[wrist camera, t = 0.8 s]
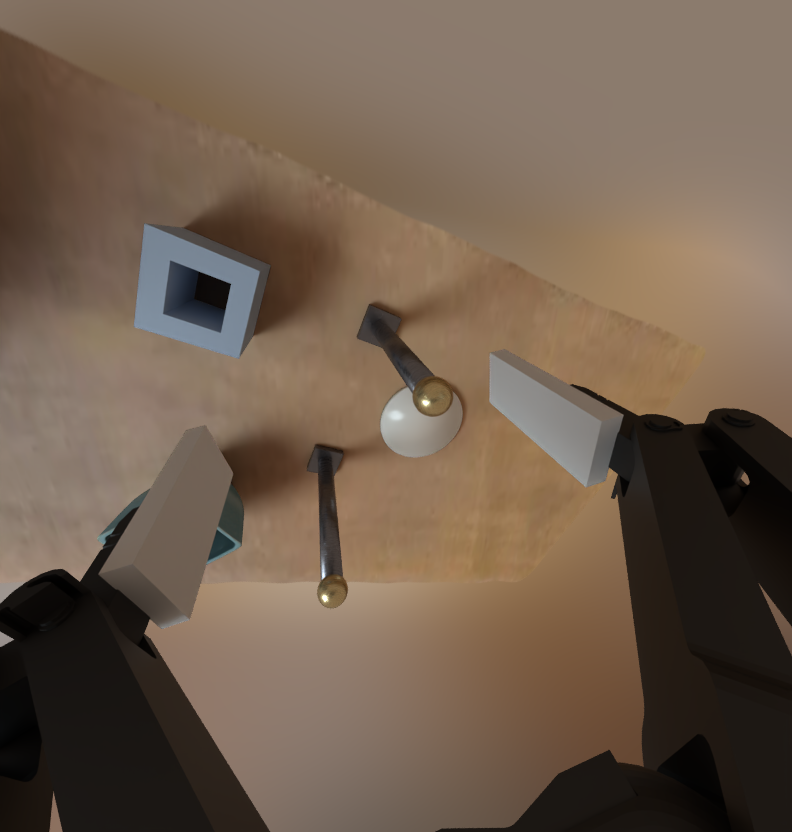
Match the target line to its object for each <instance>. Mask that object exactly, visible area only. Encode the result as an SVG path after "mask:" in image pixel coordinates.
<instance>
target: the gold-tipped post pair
mask: <svg viewBox="0 0 792 832" xmlns="http://www.w3.org/2000/svg"><path fill="white" fill-rule="evenodd" d="M400 321H401V318H400V317H398V316H395V315H393V314H391V313H388V312H386V311H384V310H382V309H379V308H377V307H375V306H372V305H370V304H369V306H368V308H367V311H366V314H365V316H364V319H363V321H362V324H361V327H360V329H359V332H358V334H357V338H358V339H360V340H363V341H365V342H368V343H371V344H373V345H376V346H379V347H381V348H383V350H384V352H385V353H386V355H387V356H388V358H389V359H390V361H391V362H392V364H393V365H394V367H395V368H396V370H397V371H398V373H399V374H400V376H401V377H402V379H403V380H404V382H405V383H406V385H407V386H408V388H409V389H410V391H411V392H412V394H413V395H412V398H413V403H414V405H415V407H416V409H417V410H418V411H419V412H420V413H422V414H423V415H426V416H429V417H436V416H440V415H442V414H444V413H445V412H447V411H448V410H449V408H450V407H451V405H452V402H453V390H452V388H451V386H450V385H449V383H448V382H447V381H446V380H444V379H443V378H440V377H437V376H434V375H433V373H432V372H431V371H430V370H429V369H428V368H427V367H426V366H425V365H424V364H423V363H422V361H421V360H420V359H419V358H418V357H417V356H416V355H415V354H414V353H413V352H412V351H411V350H410V348H409V347H408V346H407V345H406V344H405V343H404V342H403V341H402V340H401V339H400V338H399V336H398V335H397V334H396V331H397V328H398V326H399V324H400ZM342 457H343V451H342V450H337V449H333V448H329V447H324V446H320V445H315V447H314V450H313V452H312V455H311V458H310V460H309V463H308V465H307V471H309V472H315V473H318V488H319V527H320V567H321V582H320V584H319V586H318V590H317V596H318V599H319V601H320V603H321V604H322V605H323V606H325V607H327V608H336V607H338V606H340V605H341V604H342V603H343V602H344V600H345V599H346V596H347V593H348V586H347V583H346V581H345V579H344V578H343V572H342V561H341V550H340V539H339V528H338V517H337V506H336V496H335V485H334V475H335V473H336V471H337V468H338V466H339V464H340V461H341V459H342Z"/></svg>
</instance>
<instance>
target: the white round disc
mask: <svg viewBox="0 0 792 832" xmlns="http://www.w3.org/2000/svg"><path fill="white" fill-rule="evenodd" d="M412 395H413V394H412V392H411V391H410V389H409V388H408V386H406V387H404V388H402V389H401V390H399V391H398V392H396V393H395V394H394V395H393V396H392V397H391V398H390V399H389V401H388V402H387V404H386V405H385V407H384V409H383V412H382V414H381V419H380V429H381V434H382V436H383V439H384V441H385V443H386V444H387V445H388V447H389V448H390V449H392V450H393V451H394V452H396V453H398V454H400V455H403V456H406V457H423V456H427V455H431V454H433V453H435V452H437V451H439V450H441V449H442V448H444V447H445V446H446V445H448V444H449V443H450V442H451V441H452V439H453V438H454V437H455V435H456V434H457V432H458V430H459V428H460V426H461V422H462V416H463V411H462V405H461V402H460V400H459V398H458V397H457V395H456V394H455V393H454V392H453V402H452V405H451V407H450V408H449V410H448V411H447V412H445V413H444V414H442V415H440V416H436V417H429V416H426V415H423V414H422V413H420V412H419V411H418V410H417V409H416V407H415V405H414V403H413V398H412Z"/></svg>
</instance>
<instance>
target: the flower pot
mask: <svg viewBox="0 0 792 832" xmlns="http://www.w3.org/2000/svg"><path fill="white" fill-rule="evenodd" d="M150 489H151V488H150ZM150 489H149V490H150ZM149 490H147V491H145V492H144V493H142V494H141V495H140V496H138V497H137V498H136V499H135V500H133V501H132V502H131V503H130V504H129V505H128V506H127V507H126V508H125V509H124V510H123V511H122V512H121V513H120V514H119V515H118V516H117V517H116V518H115V519H114V520H113V521H112V522H111V524H110V525H109V526H108V527H107V528H106V529H105V530H104V531H103V532H102V533H101V534H100V535H99V536H98V538H97V539H98V541H99V542H101V543H102V544H105V543H106V541H107V540H108V538H110V535H111V533H112V532H113V530H114V529H115V527H116V526H117V524H118V523H119V521H121V520H122V519H123V518H124V517H125V516H126V515H127V514H128V513H129V512H130V511H131V510H132V509H133V508H136V507H140V505H141V503H142V502H143V500H144V499H145V497H146V495H147V494H148V492H149ZM243 521H244V508H243V504H242V501H241V498H240V496H239V494H238V492H237V491H236V489H235V488H234V486H233V485H232V484H230V487H229V490H228V494H227V497H226V500H225V504H224V507H223V510H222V514H221V517H220V520H219V524H218V527H217V530H216V534H215V537H214V540H213V544H212V547H211V550H210V554H209V557H208V560H207V564H209V563H211V562H213V561H215V560H217V559H219V558H221V557H223V556H225V555H227V554H229V553H231V552H233V551H234V550H236V549H238V548H239V547H241V546H242V534H243ZM207 564H206V565H207Z"/></svg>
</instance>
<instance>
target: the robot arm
mask: <svg viewBox="0 0 792 832" xmlns="http://www.w3.org/2000/svg"><path fill="white" fill-rule="evenodd" d="M490 403H491V404H492V405H493V406H494V407H496V408H497V409H498V410H499V411H500V412H501V413H502V414H503V415H505V416H506V417H507V418H508V419H509V420H510V421H511V422H513V423H514V424H515V425H516V426H517V427H518V428H519V429H520V430H522V431H523V432H524V433H525V434H526V435H527V436H528V437H530V438H531V439H532V440H533V441H534V442H535V443H536V444H537V445H539V446H540V447H541V448H542V449H543V450H544V451H545V452H547V453H548V454H549V455H550V456H551V457H552V458H553V459H554V460H556V461H557V462H558V463H559V464H560V465H561V466H562V467H564V468H565V469H566V470H567V471H568V472H569V473H570V474H571V475H573V476H574V477H575V478H576V479H577V480H578V481H579V482H581V483H582V484H583V485H584V486H585V487H589V486H592V485H595V484H598V483H601V482H604V481H605V480H606V477H607V473H608V469H609V468H611V469H612V470H613V471H615V472H616V473H617V474H618V476H617V479H616V482H615V486H614V489H613V493H612V496H611V498H613V499H615V497H616V494H617V495H618V503H619V510H620V519H621V526H622V534H623V542H624V549H625V557H626V565H627V573H628V580H629V588H630V596H631V604H632V611H633V619H634V626H635V634H636V642H637V650H638V658H639V665H640V673H641V681H642V689H643V696H644V721H643V727H642V753H643V763H644V767H642V766H639V765H633V764H627V763H617V762H616V760H615V758H614V756H613V755H612V753H611V751H610V750H608V751H606V752H604V753H602V754H599V755H597V756H595V757H593V758H591V759H589V760H587V761H585V762H582V763H581V764H578V765H576V766H574V767H572V768H570V769H568V770H565V771H564V772H561V773H559V774H558V775H557V776H556V777H555V778H554V779H553V780H552V782H551V783H550V784H549V785H548V786H547V788H546V789H545V790H544V791H543V792H542V793H541V794H540V795H539V797H538V798H537V799H536V800H535V801H534V802H533V804H532V805H531V806H530V807H529V808H528V809H527V811H526V812H525V813H524V814H523V815H522V816H521V817H520V818H519V820H518V821H517V822H516V823H515V824H514V825H512V826H510V827H507V828H457V829H456V828H453V829H452V828H451V829H440V830H438V831H436V832H792V656H791V653H790V651H789V649H788V647H787V645H786V643H785V640H784V638H783V636H782V634H781V632H780V629H779V627H778V625H777V623H776V621H775V618H774V616H773V614H772V612H771V610H770V608H769V605H768V603H767V601H766V599H765V597H764V595H763V592H762V590H761V588H760V586H759V584H760V585H761V586H762V588H763V589H764V591H765V592H766V593H767V595H768V596H769V597H770V599H771V600H772V601H773V602H774V604H775V605H776V606H777V608H778V609H779V610H780V612H781V613H782V614H783V616H784V617H785V618H786V619H787V621H788V622H789V623H790V625H791V626H792V438H791V437H789V436H788V435H787V434H785V433H784V432H783V431H781V430H780V429H778V428H777V427H775V426H774V425H773V424H772V423H770V422H769V421H767V420H766V419H764V418H762V417H761V416H759V415H756V414H753V413H750V412H748V411H745V410H740V409H727V408H722V409H715V410H712V411H710V412H709V414H708V416H707V419H706V421H705V423H702V424H687V425H684V424H683V423H681V422H680V421H678V420H676V419H674V418H671V417H667V416H663V415H657V414H645V415H641V416H638V415H636V414H634V413H632V412H630V411H629V410H627V409H625V408H623V407H621V406H619V405H617V404H615V403H613V402H612V401H610V400H606V398H604V397H602V396H600V395H597V394H596V393H595V392H593V391H591V390H589V389H587V388H584V387H580V386H577V385H573V384H571V385H568V384H567V383H565V382H563V381H561V380H559V379H558V378H556V377H554V376H552V375H550V374H549V373H547V372H545V371H543V370H541V369H540V368H538V367H536V366H534V365H532V364H530V363H529V362H527V361H525V360H523V359H521V358H520V357H518V356H516V355H514V354H512V353H511V352H509V351H507V350H505V349H503V350H499V351H495V352H491V353H490ZM744 472H745V473H746V474H747V475H748V478H749V481H750V484H749V485H747V484H745V483H744V482H743V481H742V479H741V477H742V475H743V473H744ZM232 477H233V472H232V470H231V468H230V466H229V465H228V463H227V461H226V460H225V458H224V456H223V454H222V453H221V451H220V449H219V448H218V446H217V444H216V442H215V441H214V439H213V437H212V435H211V434H210V432H209V430H208V429H207V427H206V425H204V426H200V427H196V428H192V429H188V430H186V432H185V433H184V435H183V437H182V438H181V440H180V441H179V443H178V445H177V446H176V448H175V450H174V451H173V453H172V454H171V456H170V458H169V459H168V461H167V463H166V464H165V466H164V468H163V469H162V471H161V472H160V474H159V476H158V477H157V479H156V481H155V482H154V484H153V486H152V487H151V489H150V490H149V492H148V494H147V495H146V497H145V499H144V500H143V502H142V503H141V505H140V507H136V508H133V509H132V510H131V511H130V512H129V513H128V514H127V515H126V516H125V517H124V518H123V519H122V520H121V521H119V523H118V524H117V526H116V527H115V529H114V530H113V532H112V533H111V535H110V538H108V540H107V541H106V543H105V544H104V546H103V550H100V552H99V553H98V555H97V556H96V558H95V560H94V561H93V563H92V564H91V566H90V567H89V569H88V570H87V572H86V573H85V575H84V576H83V578H82V579H81V581H80V582H79V581H78V580H77V579H75V578H74V577H73V576H72V575H70V574H69V573H68V572H67V571H65V570H64V569H55V570H51V571H48V572H45V573H43V574H40V575H38V576H37V577H35V578H33V579H31V580H29V581H28V582H26V583H24V584H23V585H22V586H20V587H19V588H18V589H16V590H15V591H14V592H12V593H11V594H10V595H9V596H8V597H7V598H6V599H5V600H4V601H3V602H2V603H0V631H1V632H2V633H4V634H6V635H7V636H9V637H11V638H13V639H14V640H13V641H11V642H9V643H7V644H5V645H4V646H2V647H0V832H49V829H50V819H51V808H52V798H53V791H54V796H55V800H56V804H57V808H58V813H59V817H60V822H61V826H62V831H63V832H270V831H269V829H268V828H267V826H266V824H265V823H264V821H263V820H262V818H261V816H260V815H259V813H258V811H257V810H256V808H255V807H254V805H253V803H252V802H251V800H250V799H249V797H248V795H247V794H246V792H245V791H244V789H243V787H242V786H241V784H240V782H239V781H238V779H237V778H236V776H235V775H234V773H233V771H232V769H231V768H230V766H229V765H228V764H227V761H226V760H225V758H224V757H223V755H222V753H221V752H220V751H219V749H218V747H217V745H216V744H215V742H214V740H213V739H212V737H211V736H210V734H209V732H208V731H207V729H206V727H205V726H204V724H203V723H202V721H201V719H200V718H199V716H198V715H197V713H196V711H195V710H194V708H193V706H192V705H191V703H190V702H189V700H188V698H187V697H186V696H185V694H184V692H183V690H182V689H181V687H180V686H179V684H178V682H177V681H176V679H175V677H174V676H173V674H172V673H171V671H170V669H169V668H168V666H167V665H166V663H165V661H164V660H163V658H162V656H161V655H160V653H159V652H158V650H157V648H156V647H155V645H154V644H153V642H152V640H151V639H150V638H149V637H148V636H146V635H145V634H144V632H145V630H146V627H147V625H148V622H149V620H150V619H151V620H152V621H153V622H154V623H155V624H156V625H158V626H159V627H160V628H161V629H164V628H166V627H169V626H172V625H175V624H178V623H182V622H184V621H188V620H190V617H191V614H192V611H193V607H194V604H195V601H196V597H197V594H198V590H199V587H200V584H201V580H202V577H203V574H204V570H205V567H206V564H207V560H208V557H209V554H210V550H211V547H212V544H213V540H214V537H215V534H216V530H217V527H218V524H219V520H220V517H221V514H222V510H223V507H224V504H225V500H226V497H227V494H228V490H229V487H230V484H231V480H232Z"/></svg>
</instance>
